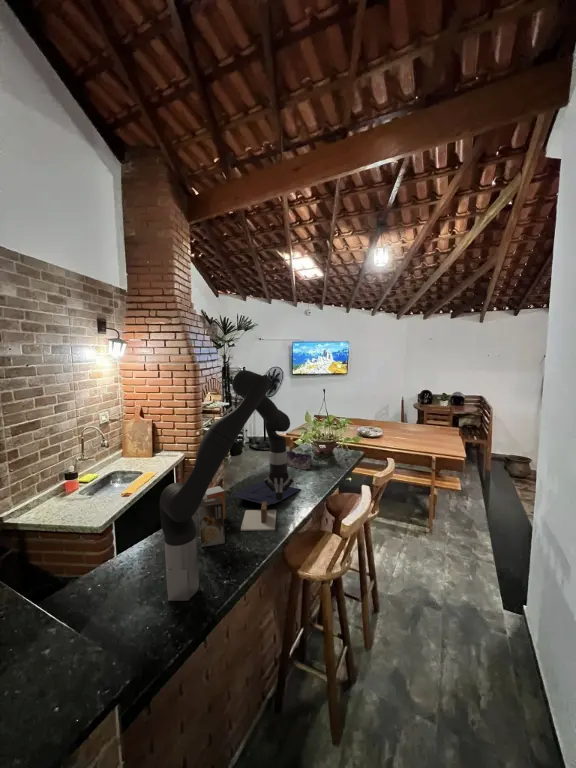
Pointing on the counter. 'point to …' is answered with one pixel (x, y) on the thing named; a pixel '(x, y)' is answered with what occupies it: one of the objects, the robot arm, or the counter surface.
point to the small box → (216, 495)
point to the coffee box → (211, 522)
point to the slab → (263, 512)
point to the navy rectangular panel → (263, 493)
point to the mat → (258, 520)
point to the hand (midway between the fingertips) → (279, 499)
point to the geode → (299, 460)
